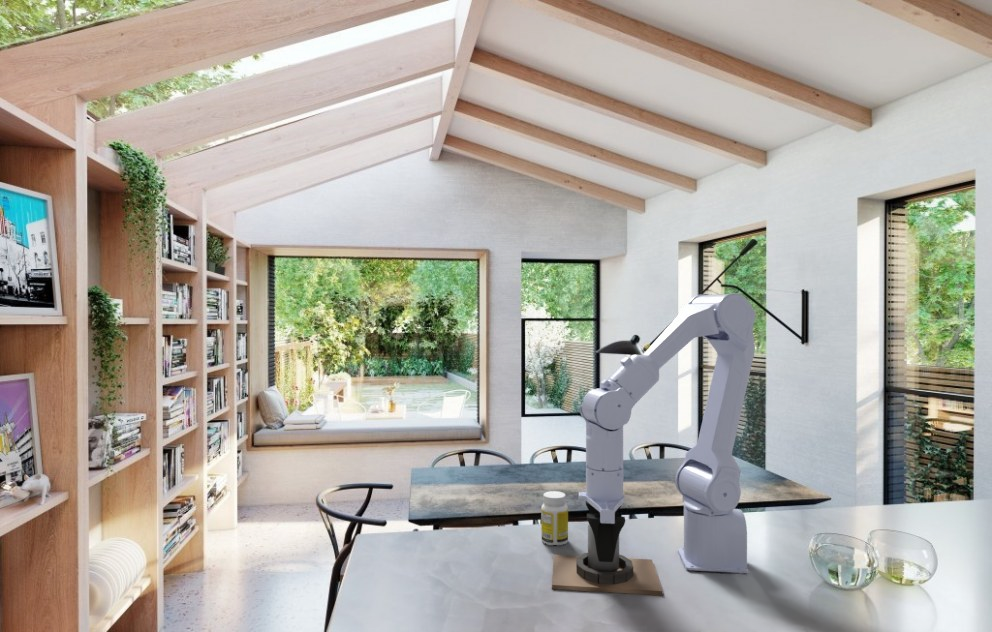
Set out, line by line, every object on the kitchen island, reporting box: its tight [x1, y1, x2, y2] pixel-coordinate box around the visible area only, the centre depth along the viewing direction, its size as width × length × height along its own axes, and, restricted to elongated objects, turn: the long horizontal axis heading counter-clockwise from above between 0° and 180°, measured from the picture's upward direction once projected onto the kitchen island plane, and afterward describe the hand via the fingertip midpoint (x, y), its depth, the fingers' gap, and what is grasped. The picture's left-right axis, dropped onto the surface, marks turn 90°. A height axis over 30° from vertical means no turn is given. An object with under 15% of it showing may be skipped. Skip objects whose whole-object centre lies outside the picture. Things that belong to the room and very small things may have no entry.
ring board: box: [551, 552, 664, 596], centre depth 92 cm, size 16×11×2 cm
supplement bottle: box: [540, 490, 569, 546], centre depth 106 cm, size 5×5×8 cm
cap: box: [587, 524, 620, 572], centre depth 92 cm, size 5×5×6 cm
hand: (604, 553), depth 92 cm, fingers closed on cap, 5 cm apart
